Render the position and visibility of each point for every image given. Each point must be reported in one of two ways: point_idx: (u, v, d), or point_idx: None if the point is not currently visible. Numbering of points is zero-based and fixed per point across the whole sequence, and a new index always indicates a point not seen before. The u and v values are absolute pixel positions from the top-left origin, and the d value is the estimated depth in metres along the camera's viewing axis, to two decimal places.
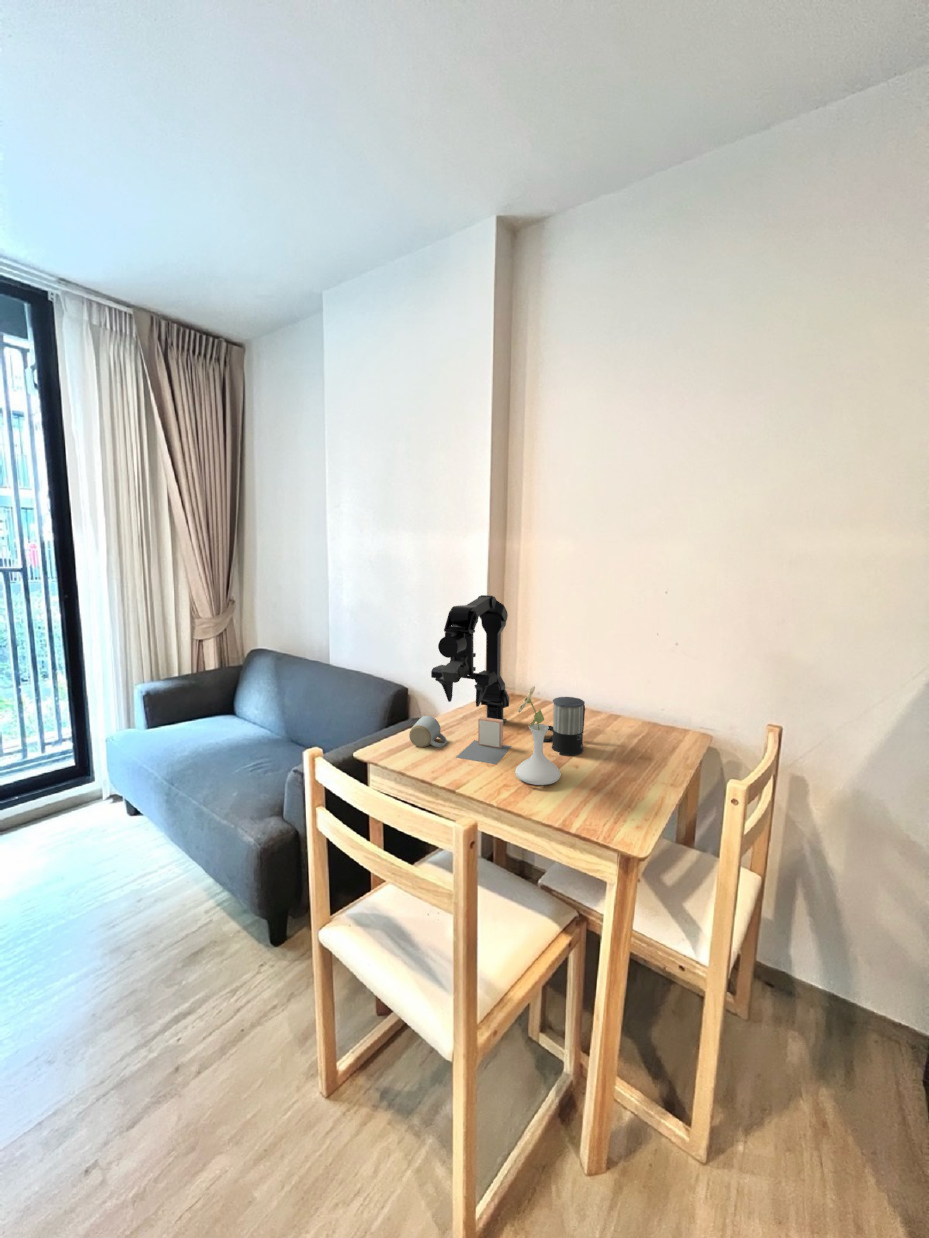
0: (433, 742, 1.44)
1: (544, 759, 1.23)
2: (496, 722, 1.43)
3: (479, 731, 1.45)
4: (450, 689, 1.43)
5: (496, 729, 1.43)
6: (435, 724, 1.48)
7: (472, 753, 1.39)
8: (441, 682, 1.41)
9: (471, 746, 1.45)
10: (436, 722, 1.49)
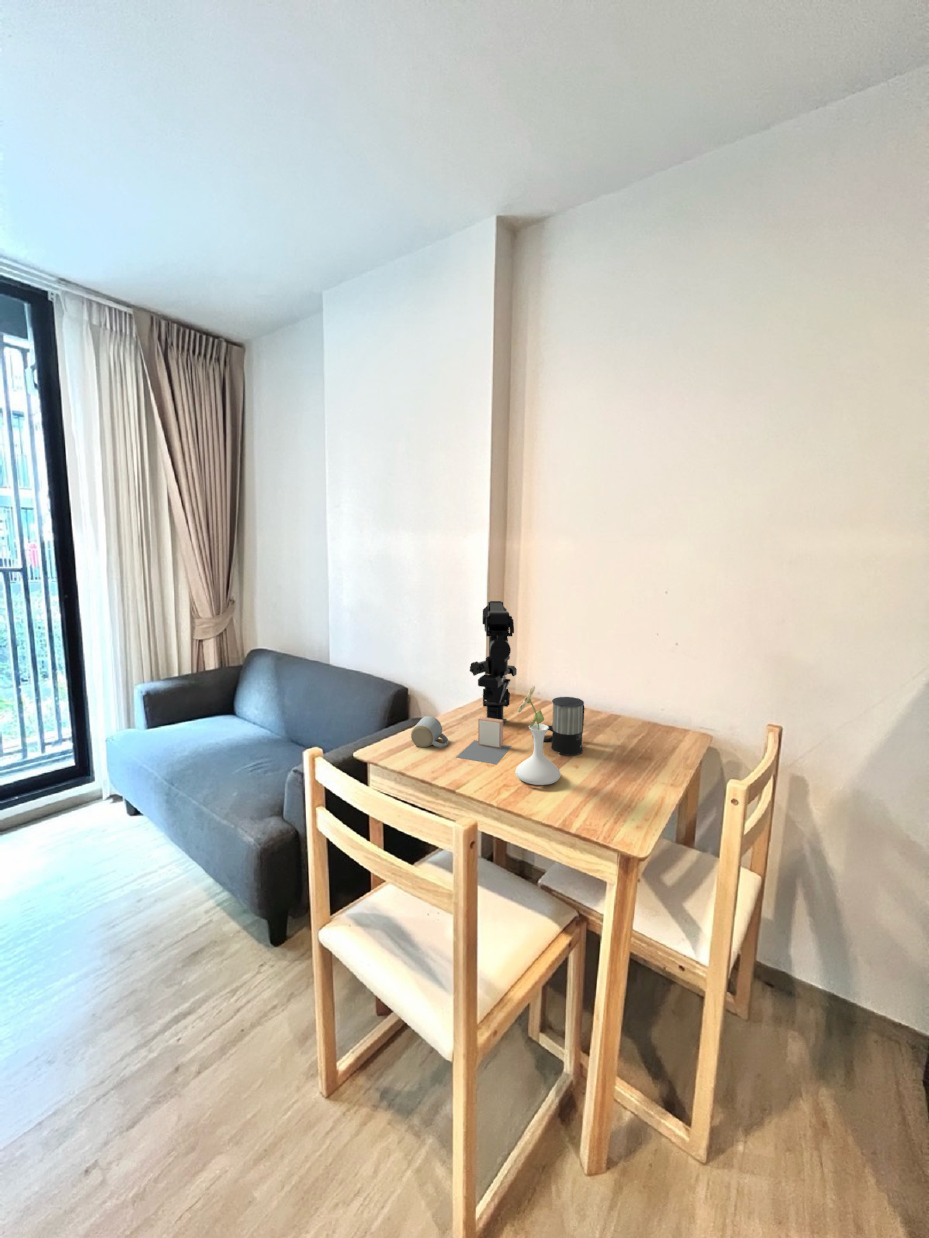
0: (435, 742, 1.44)
1: (544, 759, 1.23)
2: (496, 722, 1.43)
3: (479, 731, 1.45)
4: None
5: (496, 729, 1.43)
6: (437, 724, 1.48)
7: (472, 753, 1.39)
8: None
9: (471, 746, 1.45)
10: (437, 723, 1.48)
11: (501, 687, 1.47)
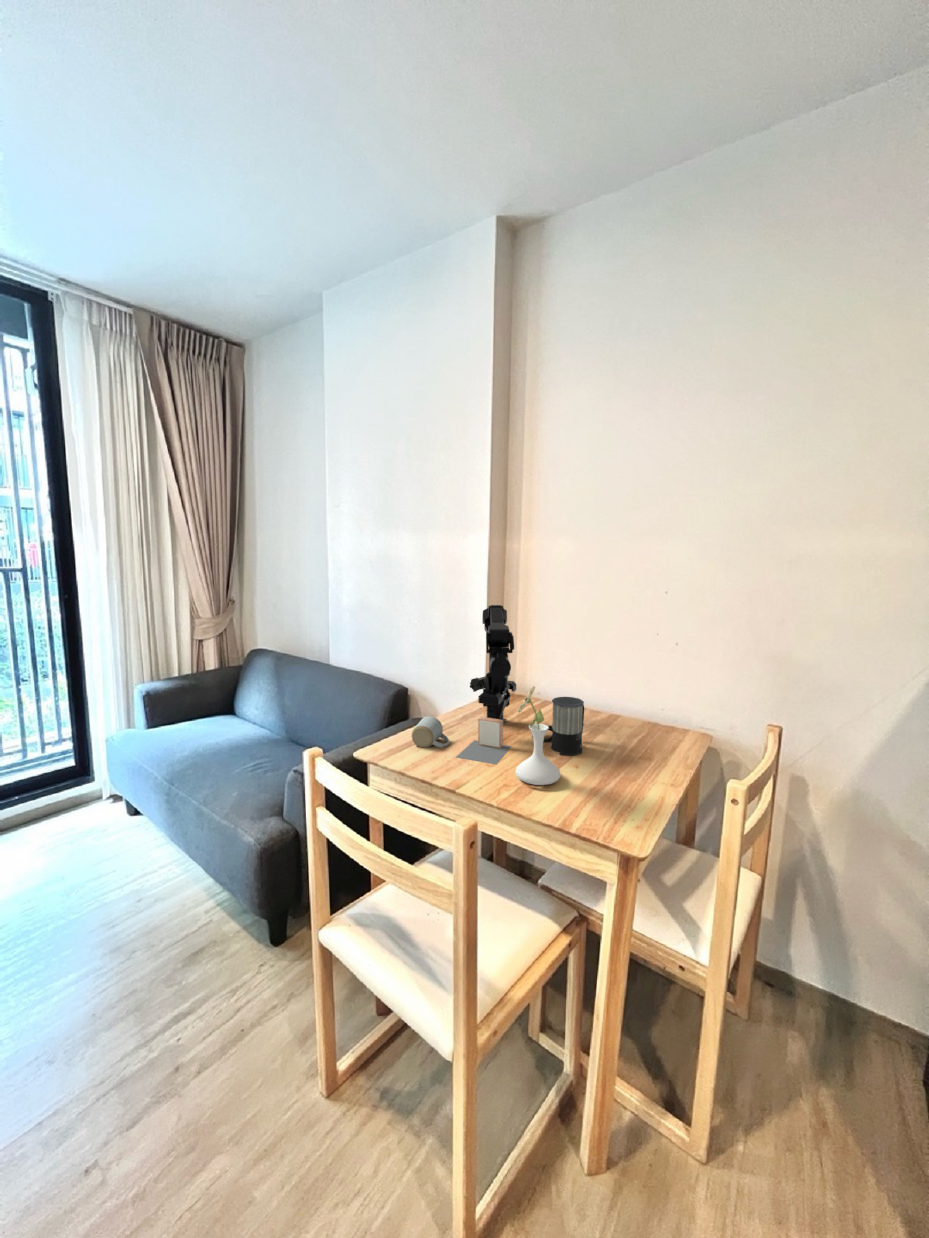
0: (435, 742, 1.44)
1: (544, 759, 1.23)
2: (496, 722, 1.43)
3: (479, 731, 1.45)
4: None
5: (496, 729, 1.43)
6: (438, 724, 1.48)
7: (472, 753, 1.39)
8: None
9: (471, 746, 1.45)
10: (438, 723, 1.48)
11: (501, 703, 1.47)
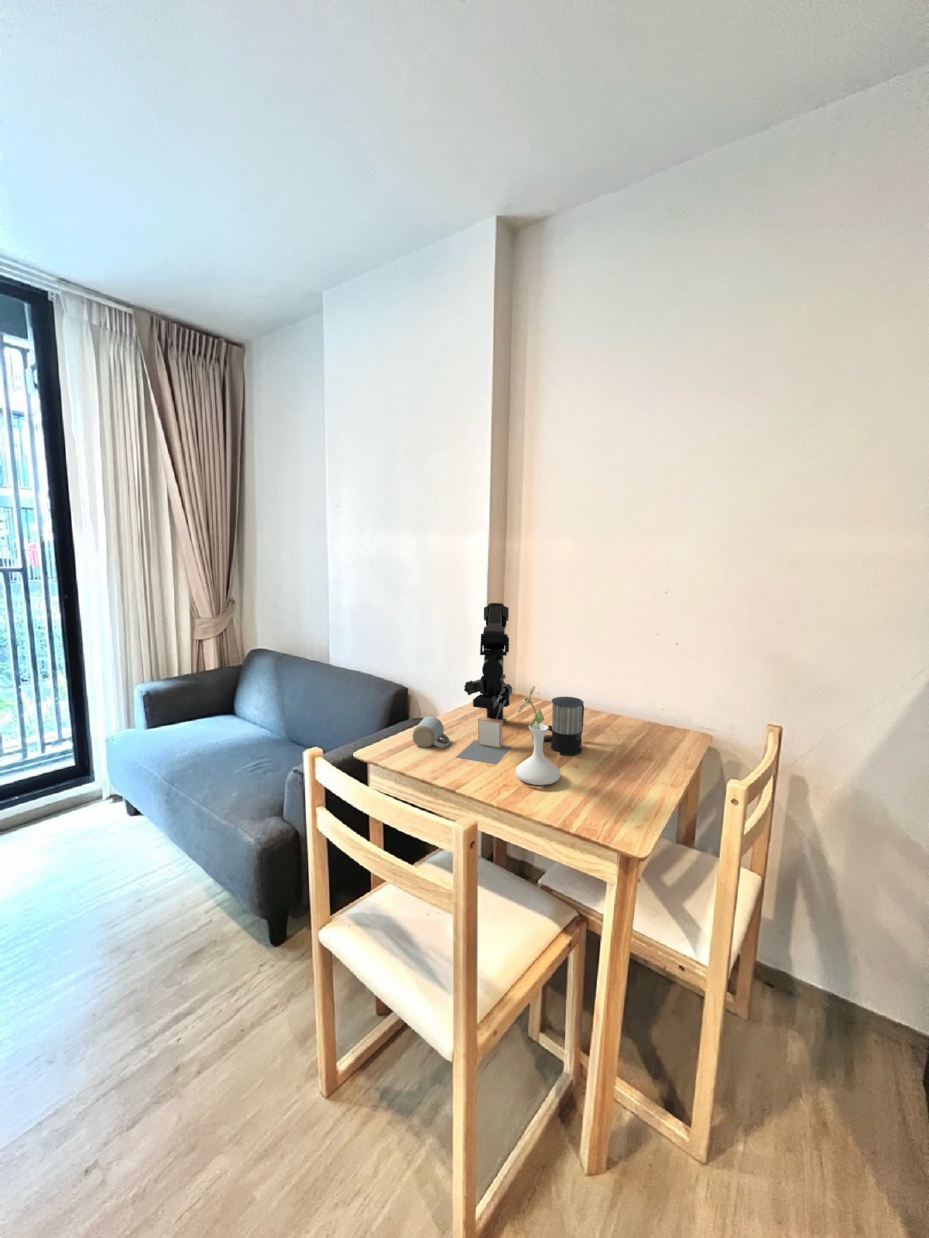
0: (436, 742, 1.44)
1: (544, 759, 1.23)
2: (496, 722, 1.43)
3: (479, 731, 1.45)
4: None
5: (496, 729, 1.43)
6: (439, 724, 1.48)
7: (472, 753, 1.39)
8: None
9: (471, 746, 1.45)
10: (439, 723, 1.48)
11: (496, 707, 1.43)
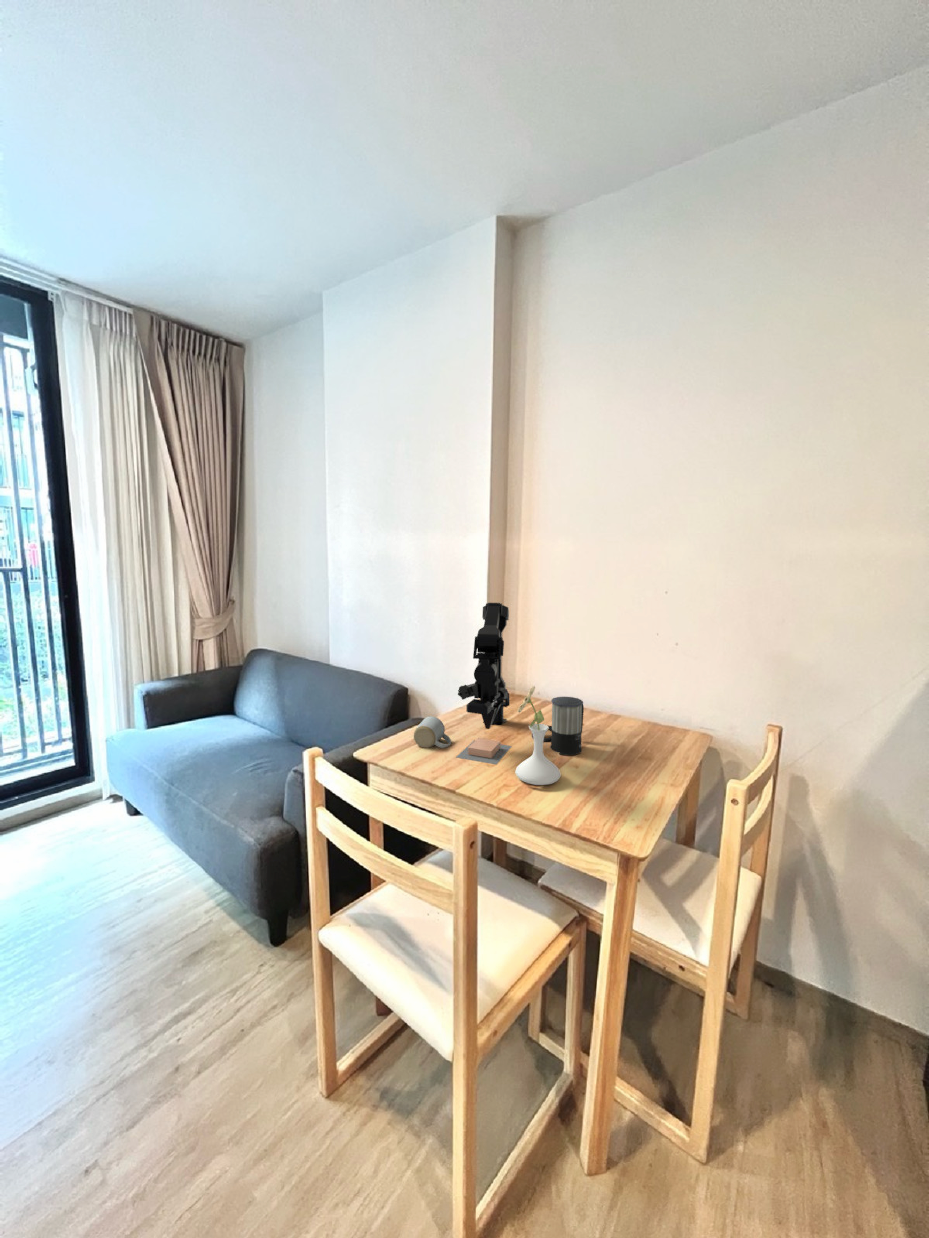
0: (437, 743, 1.44)
1: (544, 759, 1.23)
2: (487, 757, 1.37)
3: None
4: None
5: None
6: (440, 724, 1.48)
7: None
8: None
9: None
10: (440, 723, 1.48)
11: (491, 712, 1.39)
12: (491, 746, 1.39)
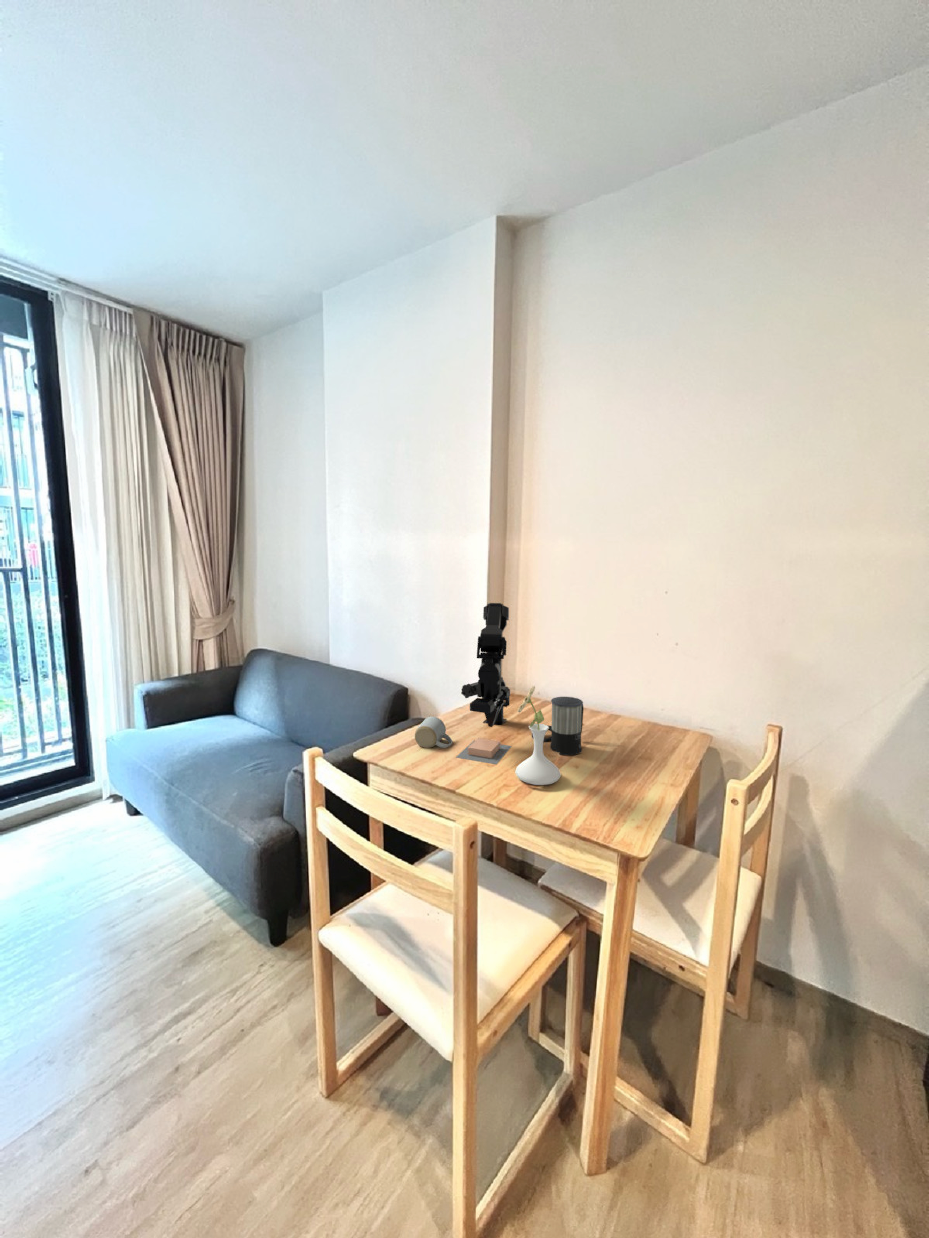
0: (439, 743, 1.43)
1: (544, 759, 1.23)
2: (487, 757, 1.37)
3: None
4: None
5: None
6: (441, 724, 1.48)
7: None
8: None
9: None
10: (441, 723, 1.48)
11: (494, 711, 1.42)
12: (491, 746, 1.39)
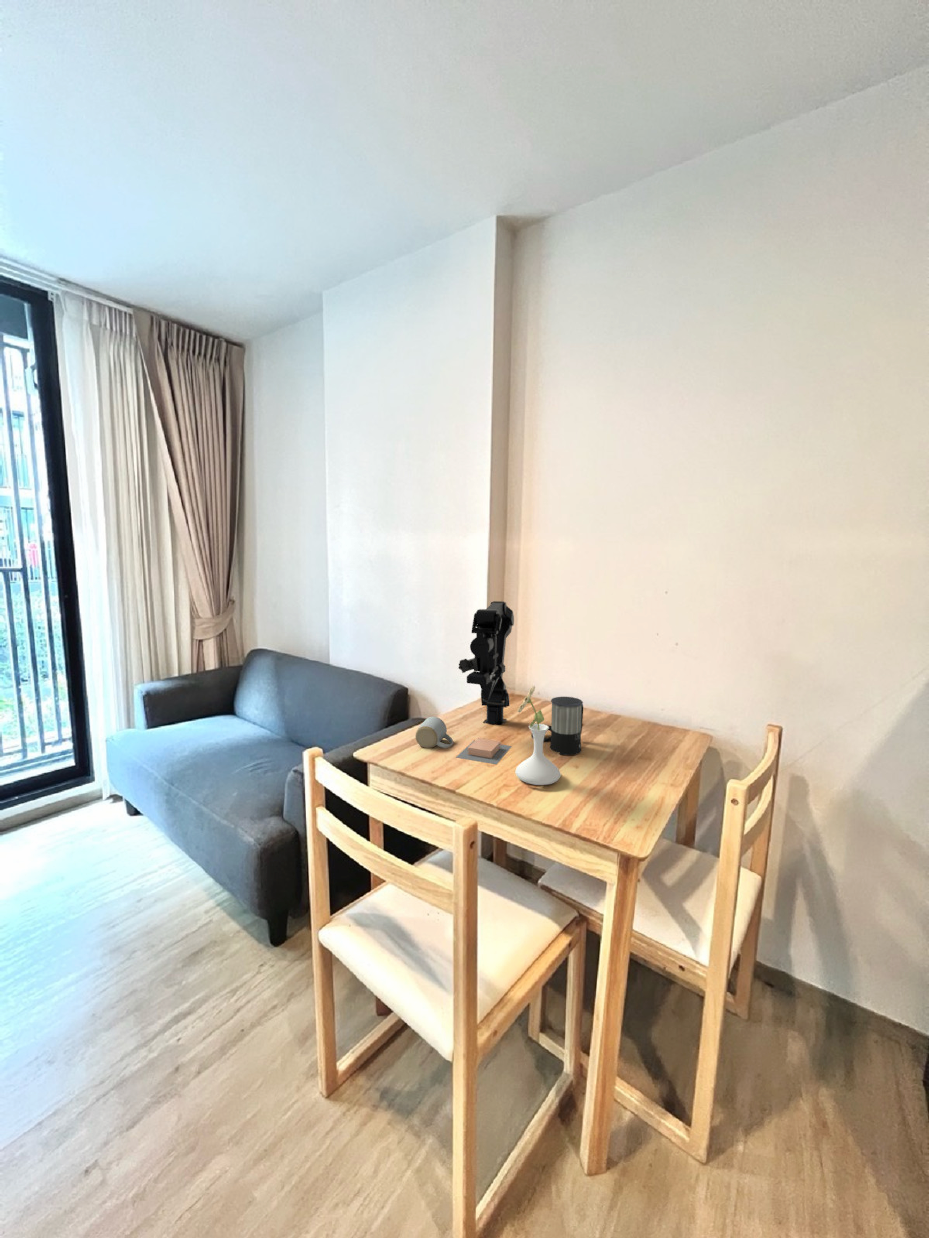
0: (439, 743, 1.43)
1: (544, 759, 1.23)
2: (487, 757, 1.37)
3: None
4: None
5: None
6: (442, 725, 1.47)
7: None
8: None
9: None
10: (442, 723, 1.48)
11: (490, 684, 1.49)
12: (491, 746, 1.39)
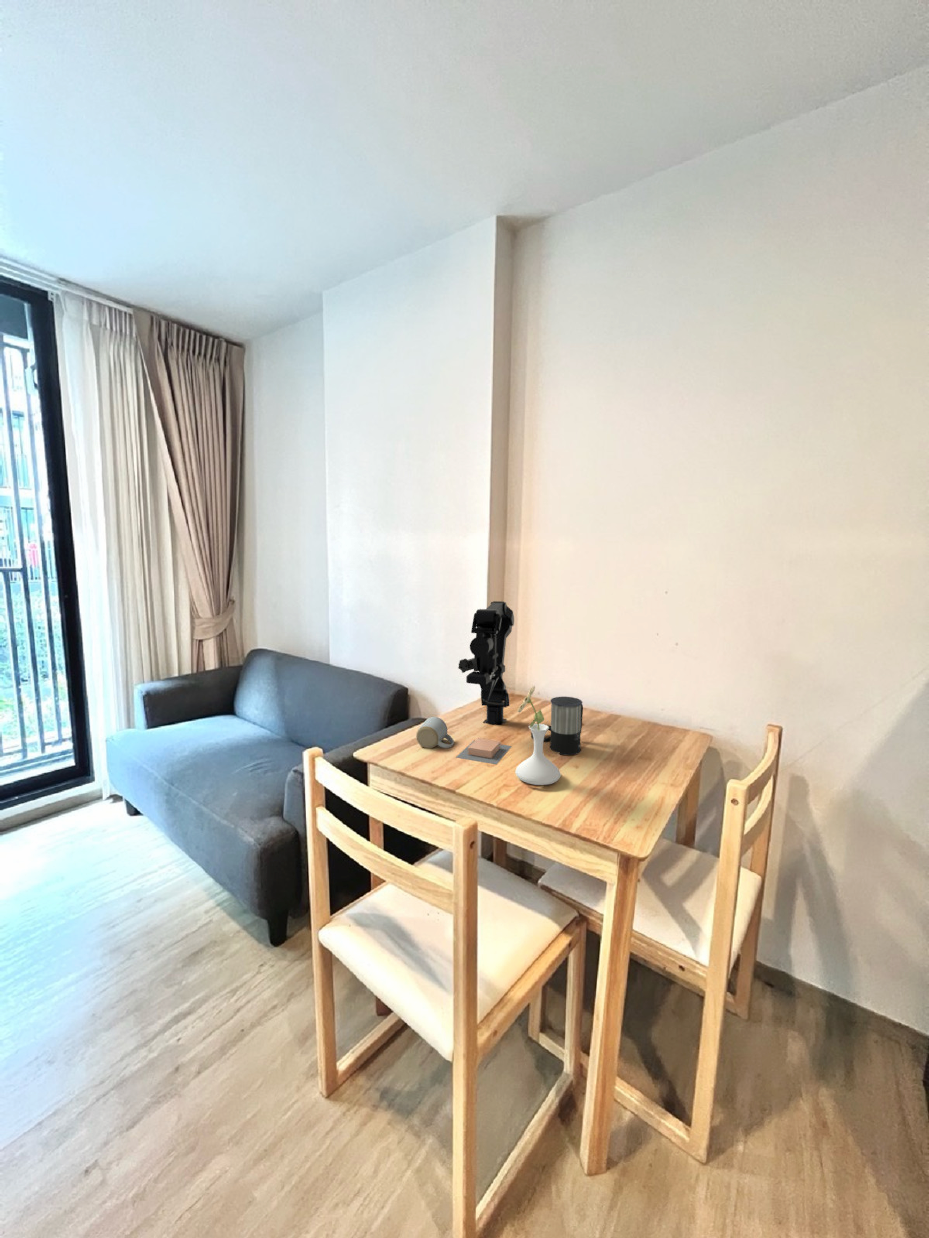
0: (440, 743, 1.43)
1: (544, 759, 1.23)
2: (487, 757, 1.37)
3: None
4: None
5: None
6: (442, 725, 1.47)
7: None
8: None
9: None
10: (443, 723, 1.48)
11: (489, 684, 1.49)
12: (491, 746, 1.39)
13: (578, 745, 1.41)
